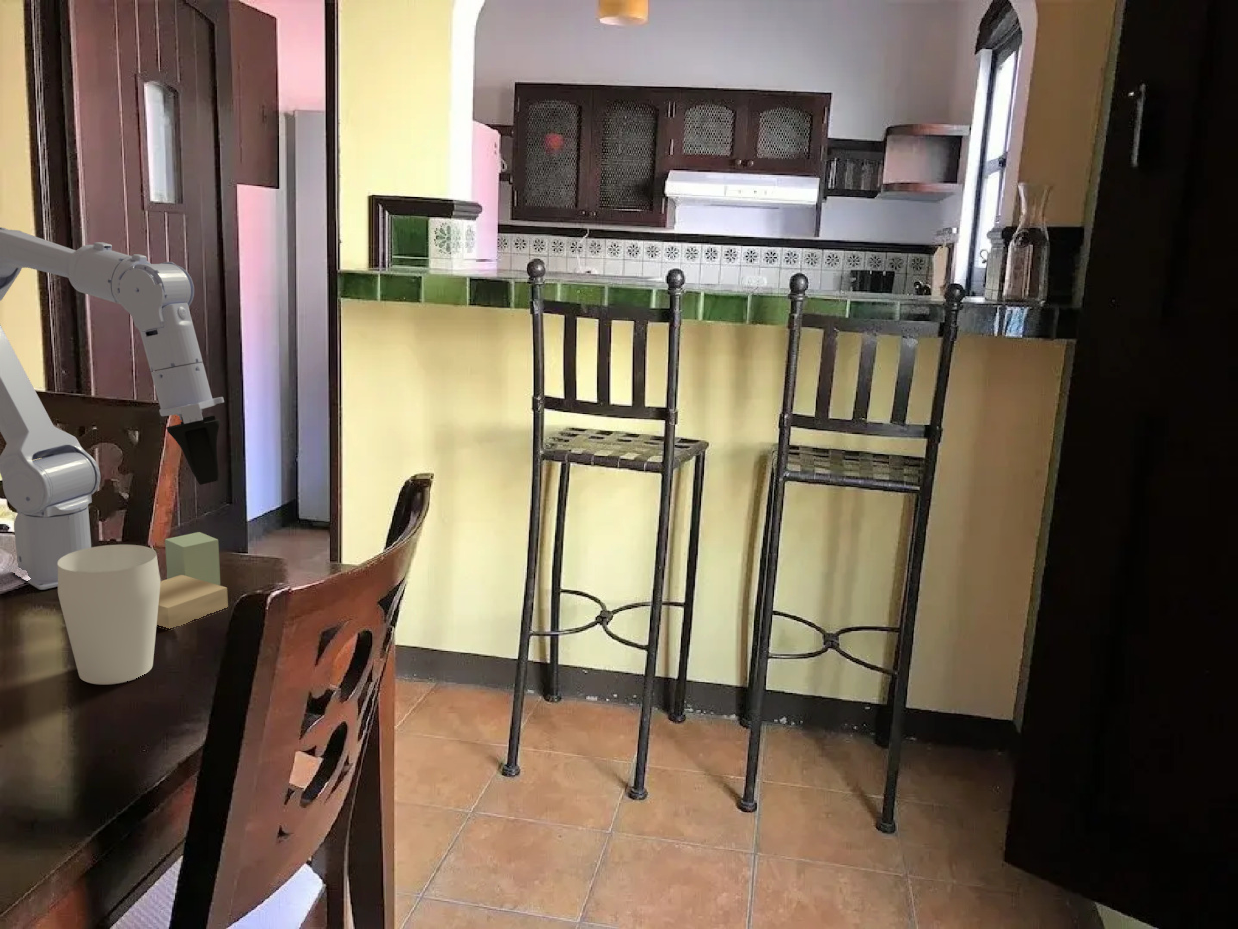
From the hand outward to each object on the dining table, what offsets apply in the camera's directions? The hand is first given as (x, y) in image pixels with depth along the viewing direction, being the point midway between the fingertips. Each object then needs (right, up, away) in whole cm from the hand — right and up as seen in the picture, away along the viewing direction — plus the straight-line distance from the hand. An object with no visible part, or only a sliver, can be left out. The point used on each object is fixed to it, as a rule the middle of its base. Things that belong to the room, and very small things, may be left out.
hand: (207, 479), depth 117 cm
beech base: (-3, -16, -2) cm, 16 cm away
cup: (-2, -19, -17) cm, 26 cm away
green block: (-5, -13, +7) cm, 16 cm away
